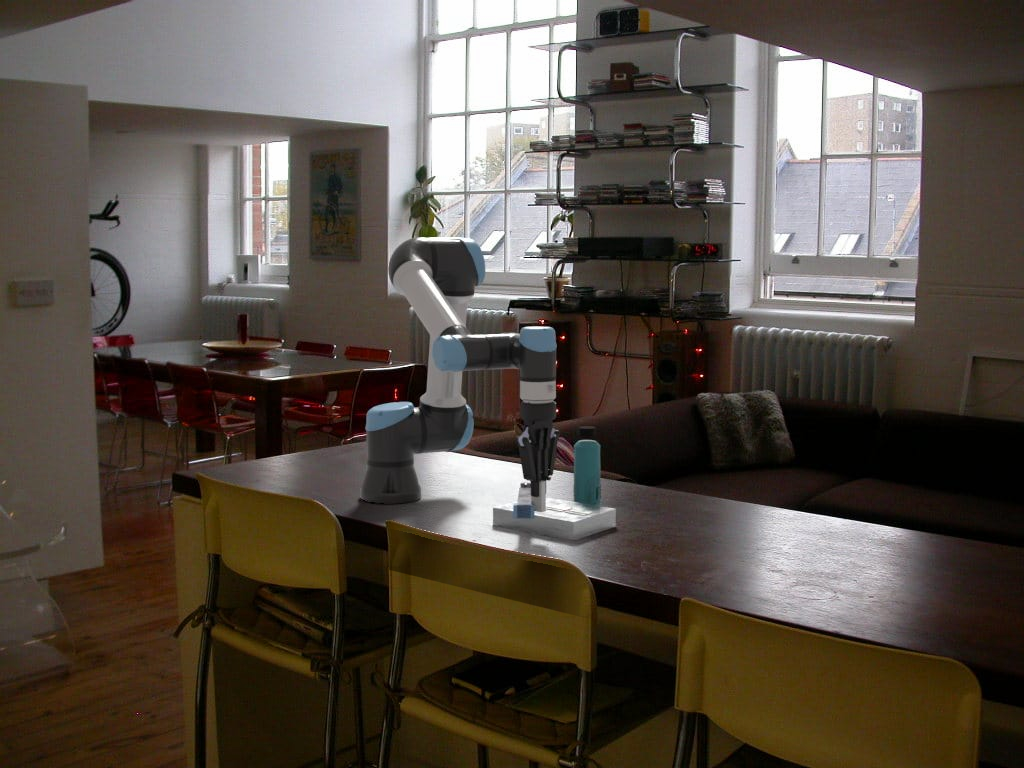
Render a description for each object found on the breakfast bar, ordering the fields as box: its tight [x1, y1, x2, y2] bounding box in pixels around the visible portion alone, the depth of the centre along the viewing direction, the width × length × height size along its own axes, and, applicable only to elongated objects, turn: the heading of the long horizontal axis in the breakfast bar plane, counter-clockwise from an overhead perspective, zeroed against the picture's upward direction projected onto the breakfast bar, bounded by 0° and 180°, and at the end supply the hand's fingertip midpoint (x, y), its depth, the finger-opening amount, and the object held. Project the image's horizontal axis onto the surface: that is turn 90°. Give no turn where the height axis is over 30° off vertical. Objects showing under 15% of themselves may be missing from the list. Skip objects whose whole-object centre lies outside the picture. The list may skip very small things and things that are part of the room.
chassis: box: [492, 482, 617, 542], centre depth 243 cm, size 22×16×8 cm
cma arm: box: [513, 487, 535, 519], centre depth 237 cm, size 18×4×3 cm, turn 178°
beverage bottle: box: [572, 425, 602, 506], centre depth 258 cm, size 6×7×20 cm
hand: (538, 510), depth 233 cm, fingers closed
